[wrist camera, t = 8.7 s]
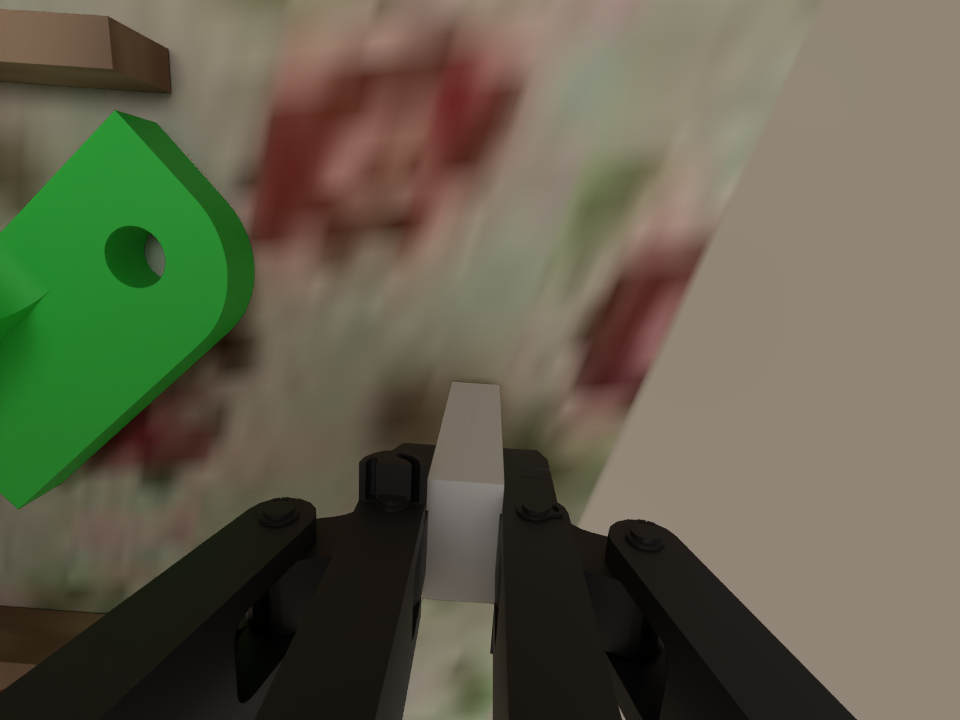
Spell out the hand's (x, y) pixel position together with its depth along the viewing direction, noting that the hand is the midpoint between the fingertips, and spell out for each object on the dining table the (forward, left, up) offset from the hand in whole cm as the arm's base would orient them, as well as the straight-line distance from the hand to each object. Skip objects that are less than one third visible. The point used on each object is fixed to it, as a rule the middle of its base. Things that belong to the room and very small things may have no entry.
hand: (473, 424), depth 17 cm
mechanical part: (-13, +2, -2) cm, 13 cm away
